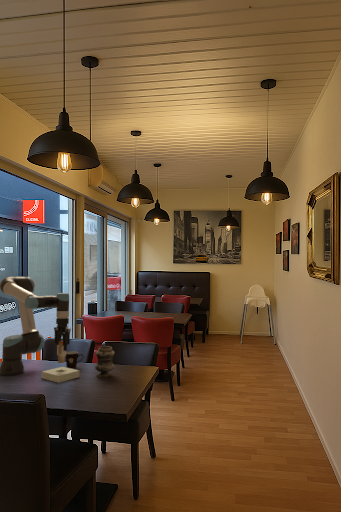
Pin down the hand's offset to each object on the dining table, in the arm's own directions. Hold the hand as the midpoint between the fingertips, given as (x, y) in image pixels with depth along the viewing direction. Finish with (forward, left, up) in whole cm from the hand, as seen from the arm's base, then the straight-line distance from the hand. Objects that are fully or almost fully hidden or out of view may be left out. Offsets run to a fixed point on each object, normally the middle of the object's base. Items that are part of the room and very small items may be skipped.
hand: (61, 355), depth 232 cm
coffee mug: (-14, +22, -14) cm, 30 cm away
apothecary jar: (+18, +20, -14) cm, 30 cm away
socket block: (0, 0, -14) cm, 14 cm away
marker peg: (0, 0, -4) cm, 4 cm away
